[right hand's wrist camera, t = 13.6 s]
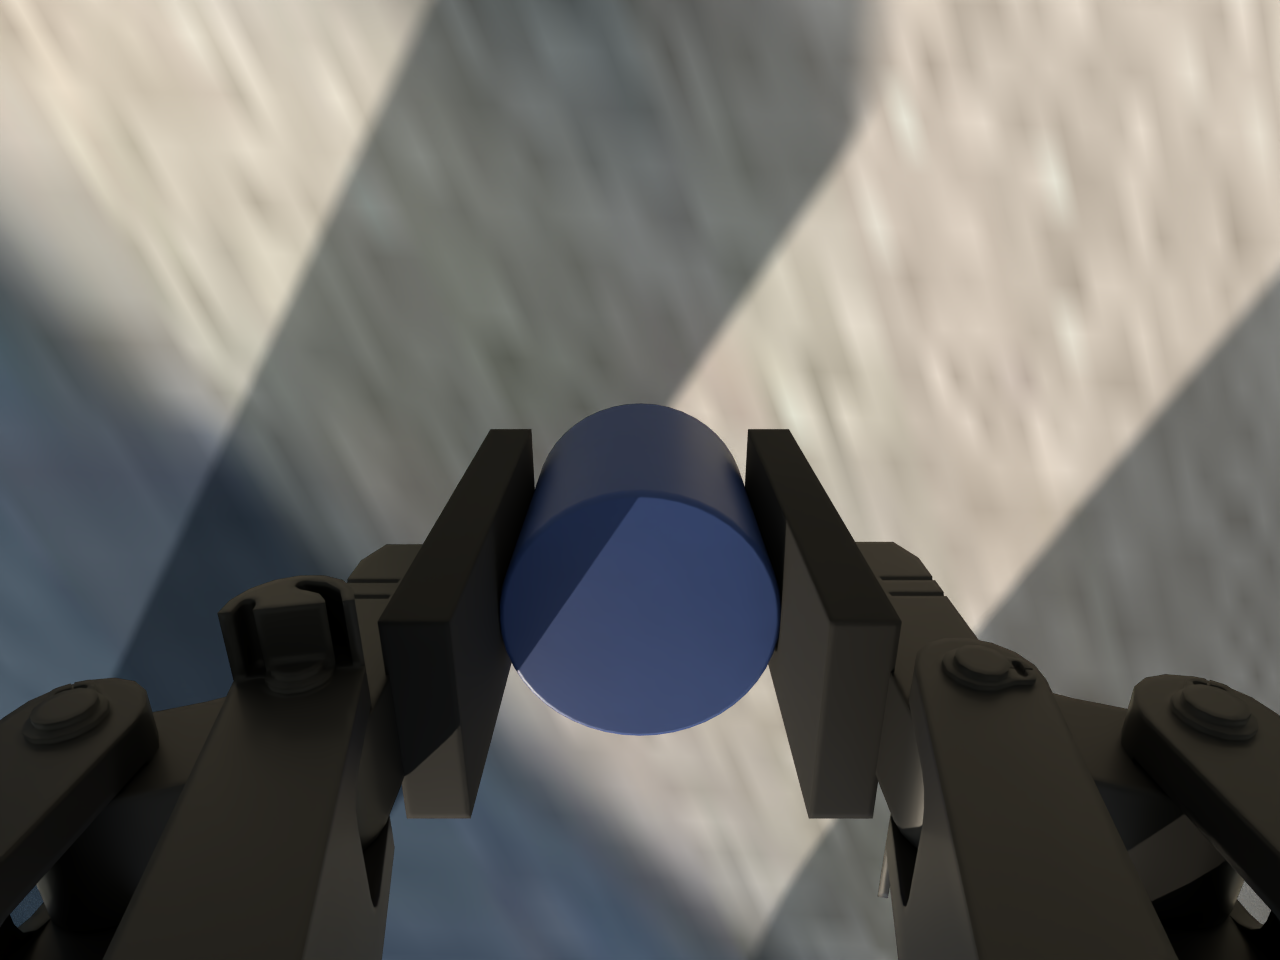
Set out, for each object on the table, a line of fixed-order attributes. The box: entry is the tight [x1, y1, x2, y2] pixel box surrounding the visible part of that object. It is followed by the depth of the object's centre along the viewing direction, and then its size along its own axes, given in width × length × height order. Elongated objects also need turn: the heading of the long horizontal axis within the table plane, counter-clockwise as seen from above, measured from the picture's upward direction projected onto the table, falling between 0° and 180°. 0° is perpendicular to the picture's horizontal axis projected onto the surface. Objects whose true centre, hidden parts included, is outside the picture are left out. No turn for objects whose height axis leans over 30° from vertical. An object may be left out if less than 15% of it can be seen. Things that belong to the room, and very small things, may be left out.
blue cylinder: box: [499, 404, 781, 736], centre depth 13 cm, size 4×4×4 cm
